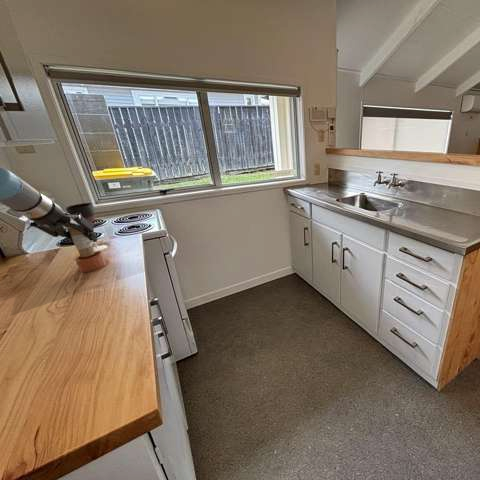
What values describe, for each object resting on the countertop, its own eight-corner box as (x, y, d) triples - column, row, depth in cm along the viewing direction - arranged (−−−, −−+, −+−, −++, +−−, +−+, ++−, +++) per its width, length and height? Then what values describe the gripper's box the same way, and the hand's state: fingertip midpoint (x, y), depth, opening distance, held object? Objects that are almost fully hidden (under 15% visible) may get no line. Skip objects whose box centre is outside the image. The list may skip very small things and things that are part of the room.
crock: (79, 267, 98) (74, 256, 97) (105, 260, 103) (100, 249, 101) (81, 274, 93) (75, 262, 91) (107, 266, 98) (102, 255, 96)
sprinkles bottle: (88, 252, 98) (73, 219, 93) (98, 252, 98) (84, 218, 93) (76, 257, 94) (60, 223, 89) (87, 257, 94) (72, 222, 89)
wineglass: (80, 252, 113) (60, 208, 105) (100, 244, 121) (82, 202, 113) (94, 253, 111) (74, 208, 103) (113, 245, 119) (96, 203, 111)
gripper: (-1, 223, 73) (59, 252, 94) (72, 215, 78) (114, 245, 99) (4, 201, 76) (61, 234, 97) (74, 194, 80) (114, 227, 101)
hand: (88, 239), depth 98 cm, fingers closed on sprinkles bottle, 4 cm apart
